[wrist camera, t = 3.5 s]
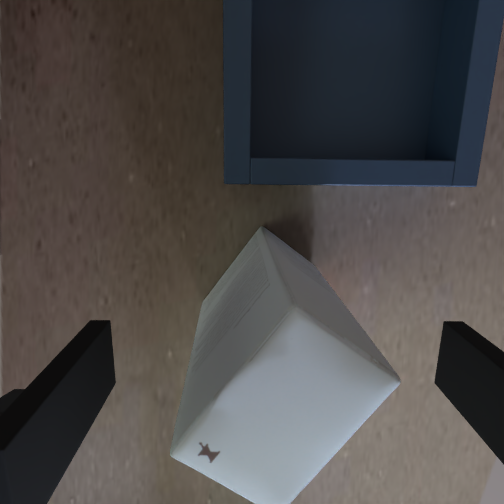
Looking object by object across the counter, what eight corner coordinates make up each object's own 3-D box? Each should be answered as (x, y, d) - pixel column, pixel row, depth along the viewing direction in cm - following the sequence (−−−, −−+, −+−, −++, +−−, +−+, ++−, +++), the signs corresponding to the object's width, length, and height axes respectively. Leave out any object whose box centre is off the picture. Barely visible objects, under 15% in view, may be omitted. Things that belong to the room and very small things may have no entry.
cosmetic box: (257, 339, 23) (276, 524, 12) (200, 301, 22) (160, 458, 11) (319, 263, 22) (409, 384, 10) (262, 221, 21) (290, 300, 10)
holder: (226, 179, 21) (224, 184, 17) (225, -77, 18) (222, -134, 14) (437, 181, 21) (477, 186, 18) (471, -68, 18) (527, -121, 15)
